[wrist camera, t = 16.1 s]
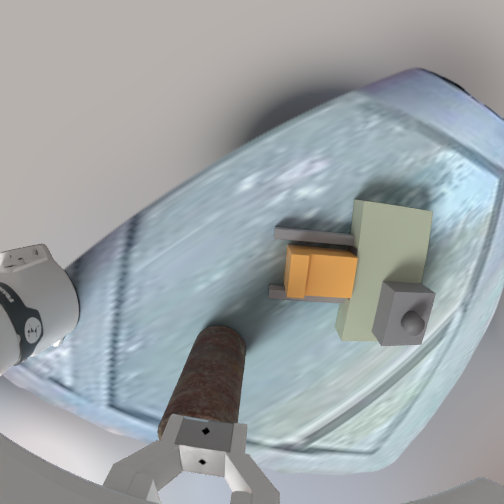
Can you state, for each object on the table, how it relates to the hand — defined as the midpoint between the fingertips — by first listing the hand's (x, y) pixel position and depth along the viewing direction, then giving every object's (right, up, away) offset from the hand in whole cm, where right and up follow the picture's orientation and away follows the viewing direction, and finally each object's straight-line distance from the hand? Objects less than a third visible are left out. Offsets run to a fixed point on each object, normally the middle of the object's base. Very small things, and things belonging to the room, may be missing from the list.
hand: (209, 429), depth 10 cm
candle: (-3, -6, +31) cm, 32 cm away
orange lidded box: (+10, +5, +28) cm, 31 cm away
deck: (+14, +5, +28) cm, 32 cm away
